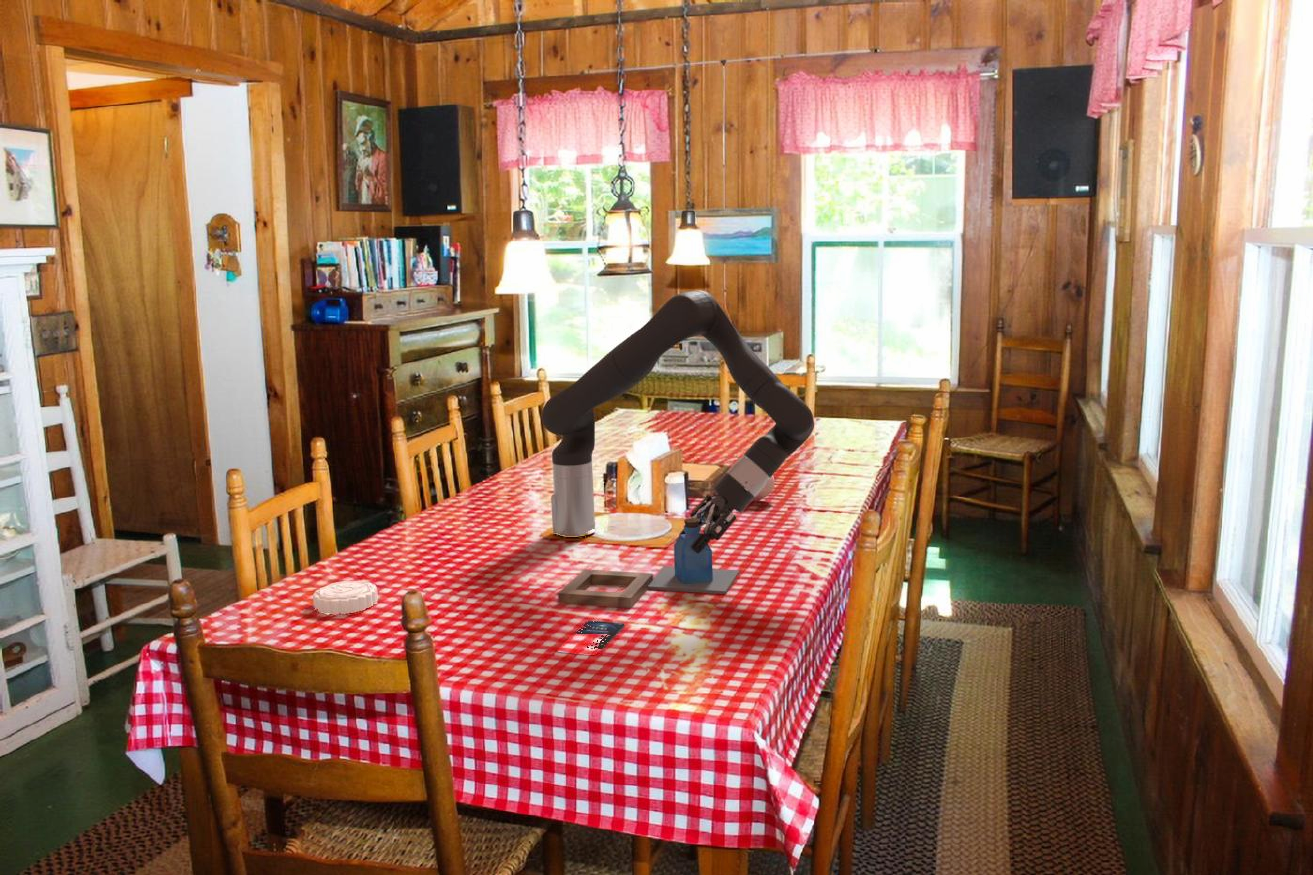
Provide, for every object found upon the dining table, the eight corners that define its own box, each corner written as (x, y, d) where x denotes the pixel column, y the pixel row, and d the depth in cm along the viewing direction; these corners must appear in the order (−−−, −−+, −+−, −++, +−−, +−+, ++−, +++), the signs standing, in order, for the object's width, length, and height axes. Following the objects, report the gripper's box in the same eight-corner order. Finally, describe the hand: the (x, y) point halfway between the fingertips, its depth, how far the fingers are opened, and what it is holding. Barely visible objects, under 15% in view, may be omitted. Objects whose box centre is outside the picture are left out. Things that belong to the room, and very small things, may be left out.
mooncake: (354, 591, 216) (353, 574, 215) (390, 603, 208) (389, 585, 207) (301, 608, 207) (300, 590, 206) (337, 621, 199) (335, 603, 198)
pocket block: (558, 602, 204) (557, 593, 204) (584, 578, 218) (584, 569, 217) (631, 608, 200) (630, 597, 200) (653, 583, 214) (652, 573, 213)
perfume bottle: (682, 584, 211) (680, 525, 208) (674, 574, 217) (673, 517, 214) (712, 580, 212) (711, 522, 210) (704, 571, 218) (702, 514, 216)
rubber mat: (646, 589, 210) (646, 586, 210) (664, 568, 222) (664, 566, 222) (725, 594, 206) (725, 591, 206) (739, 573, 218) (739, 570, 218)
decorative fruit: (762, 508, 268) (761, 469, 266) (735, 504, 273) (734, 466, 271) (781, 500, 275) (781, 462, 273) (754, 496, 280) (754, 459, 278)
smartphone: (553, 651, 180) (587, 619, 194) (553, 654, 180) (587, 622, 194) (596, 655, 178) (626, 623, 191) (596, 659, 178) (627, 626, 192)
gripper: (718, 464, 219) (665, 524, 218) (739, 479, 205) (684, 542, 204) (743, 487, 221) (691, 546, 220) (766, 503, 207) (711, 566, 207)
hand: (688, 544), depth 212 cm, fingers open, 8 cm apart
